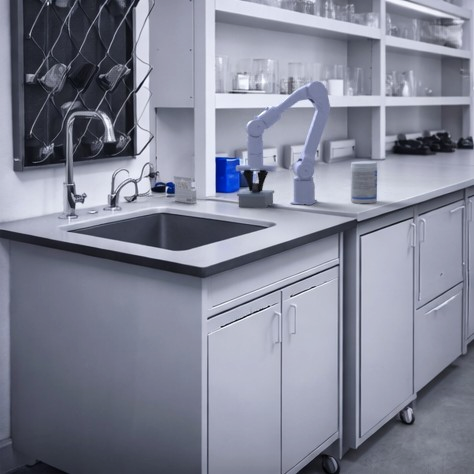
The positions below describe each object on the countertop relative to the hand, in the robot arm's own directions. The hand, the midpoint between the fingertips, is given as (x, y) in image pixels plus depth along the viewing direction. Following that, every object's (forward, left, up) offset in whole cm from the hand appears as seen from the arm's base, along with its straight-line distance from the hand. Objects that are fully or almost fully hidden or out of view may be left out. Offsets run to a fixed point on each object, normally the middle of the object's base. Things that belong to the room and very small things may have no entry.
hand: (255, 190), depth 249 cm
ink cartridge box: (-1, -29, -6) cm, 30 cm away
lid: (0, 0, -1) cm, 1 cm away
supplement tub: (-14, +37, -5) cm, 40 cm away
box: (0, 0, -5) cm, 5 cm away
